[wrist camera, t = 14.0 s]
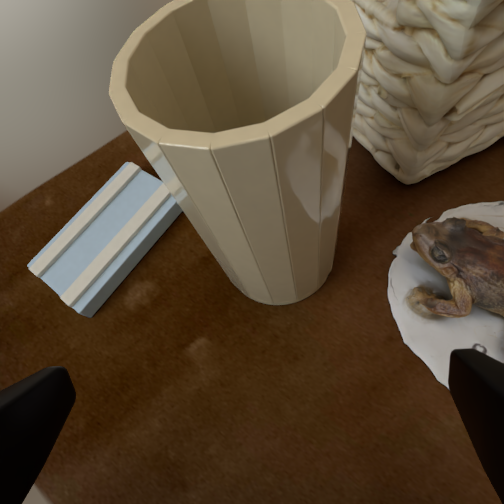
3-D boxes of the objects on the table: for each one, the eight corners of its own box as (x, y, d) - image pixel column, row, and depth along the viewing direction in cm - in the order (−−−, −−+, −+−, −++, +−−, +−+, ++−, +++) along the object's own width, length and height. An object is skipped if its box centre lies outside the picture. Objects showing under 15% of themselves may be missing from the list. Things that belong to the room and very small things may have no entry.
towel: (91, 318, 20) (75, 312, 19) (39, 271, 23) (22, 263, 21) (189, 202, 23) (182, 190, 22) (134, 171, 25) (124, 158, 24)
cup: (345, 296, 18) (401, 110, 7) (229, 312, 19) (95, 172, 7) (322, 198, 21) (333, -50, 10) (222, 215, 22) (120, 7, 10)
